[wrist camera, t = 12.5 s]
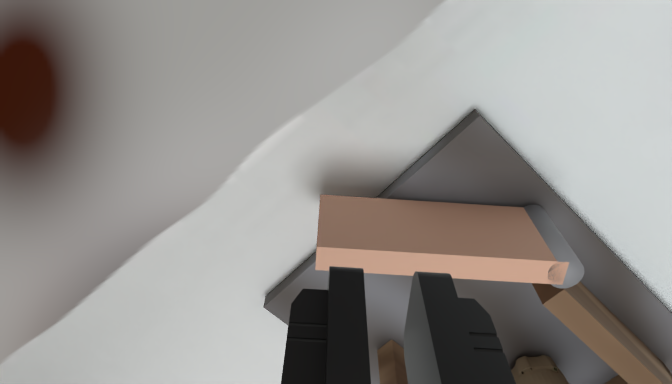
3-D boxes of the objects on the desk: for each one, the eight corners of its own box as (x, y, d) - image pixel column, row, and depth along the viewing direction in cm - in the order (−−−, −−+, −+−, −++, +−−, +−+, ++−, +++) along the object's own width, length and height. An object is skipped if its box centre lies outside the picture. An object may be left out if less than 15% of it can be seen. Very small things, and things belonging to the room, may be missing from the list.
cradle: (500, 471, 40) (525, 558, 34) (265, 296, 33) (251, 371, 27) (704, 347, 34) (771, 426, 29) (475, 109, 28) (507, 156, 22)
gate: (318, 218, 29) (315, 273, 24) (320, 191, 28) (316, 242, 24) (542, 232, 29) (578, 289, 25) (549, 205, 29) (588, 259, 24)
